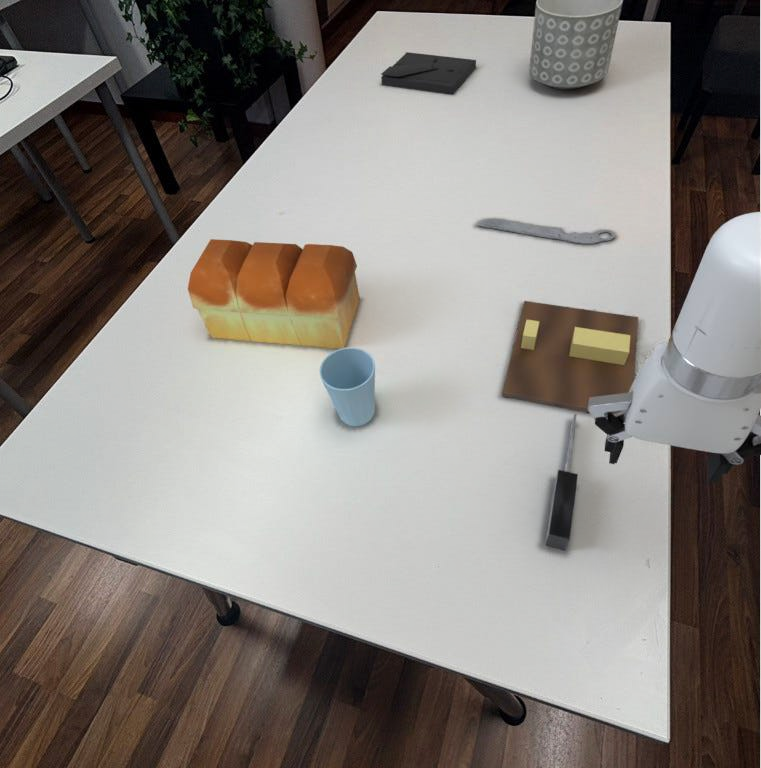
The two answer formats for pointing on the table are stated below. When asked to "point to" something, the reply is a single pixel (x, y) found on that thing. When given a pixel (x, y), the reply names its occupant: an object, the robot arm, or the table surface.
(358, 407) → the cup
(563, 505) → the screwdriver
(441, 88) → the picture frame
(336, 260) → the bread
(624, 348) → the butter
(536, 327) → the butter pat
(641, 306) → the table surface
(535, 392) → the butter board
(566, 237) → the knife
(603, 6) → the planter
